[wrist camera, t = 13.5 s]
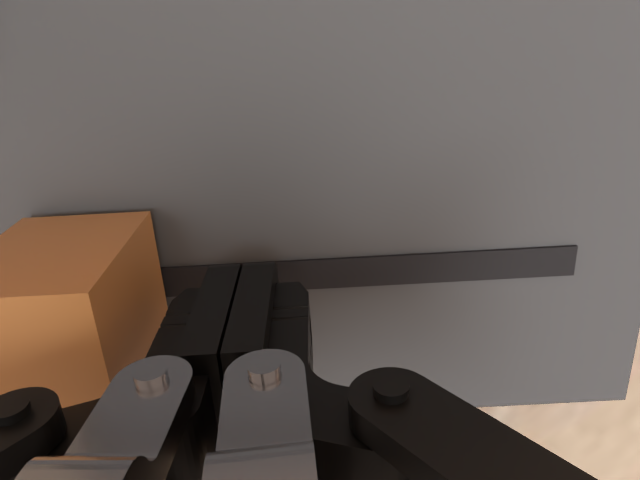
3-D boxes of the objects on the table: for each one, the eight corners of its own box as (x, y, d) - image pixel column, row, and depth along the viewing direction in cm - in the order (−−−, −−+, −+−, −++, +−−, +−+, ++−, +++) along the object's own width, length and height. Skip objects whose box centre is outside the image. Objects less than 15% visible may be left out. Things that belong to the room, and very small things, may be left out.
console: (-251, -280, 12) (-423, -366, 9) (681, -337, 12) (796, -440, 9) (-22, 372, 19) (-81, 438, 16) (578, 340, 19) (627, 401, 16)
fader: (22, 218, 13) (-89, 302, 10) (150, 210, 13) (87, 293, 10) (62, 360, 15) (-21, 479, 11) (175, 354, 15) (131, 472, 11)
